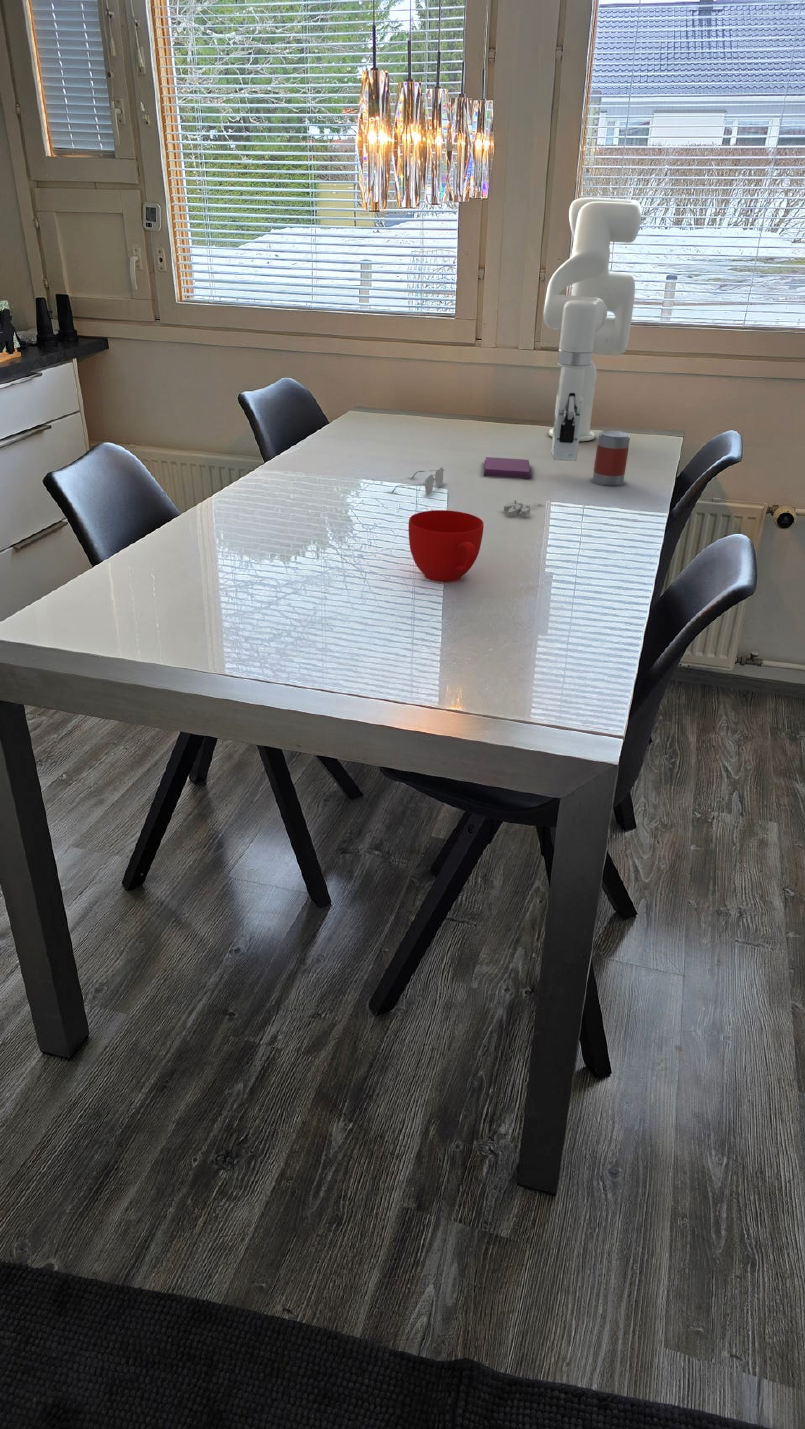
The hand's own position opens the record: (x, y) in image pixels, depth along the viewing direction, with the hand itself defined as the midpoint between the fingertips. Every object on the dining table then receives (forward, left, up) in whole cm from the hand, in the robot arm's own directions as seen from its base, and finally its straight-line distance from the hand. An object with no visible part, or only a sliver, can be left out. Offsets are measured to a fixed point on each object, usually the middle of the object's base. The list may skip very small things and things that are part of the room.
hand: (565, 438), depth 236 cm
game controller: (+31, -9, -9) cm, 34 cm away
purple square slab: (-2, -13, -9) cm, 16 cm away
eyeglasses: (+18, -33, -9) cm, 39 cm away
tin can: (+2, +11, -9) cm, 14 cm away
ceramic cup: (+75, -23, -9) cm, 80 cm away
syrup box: (0, 0, -5) cm, 5 cm away
